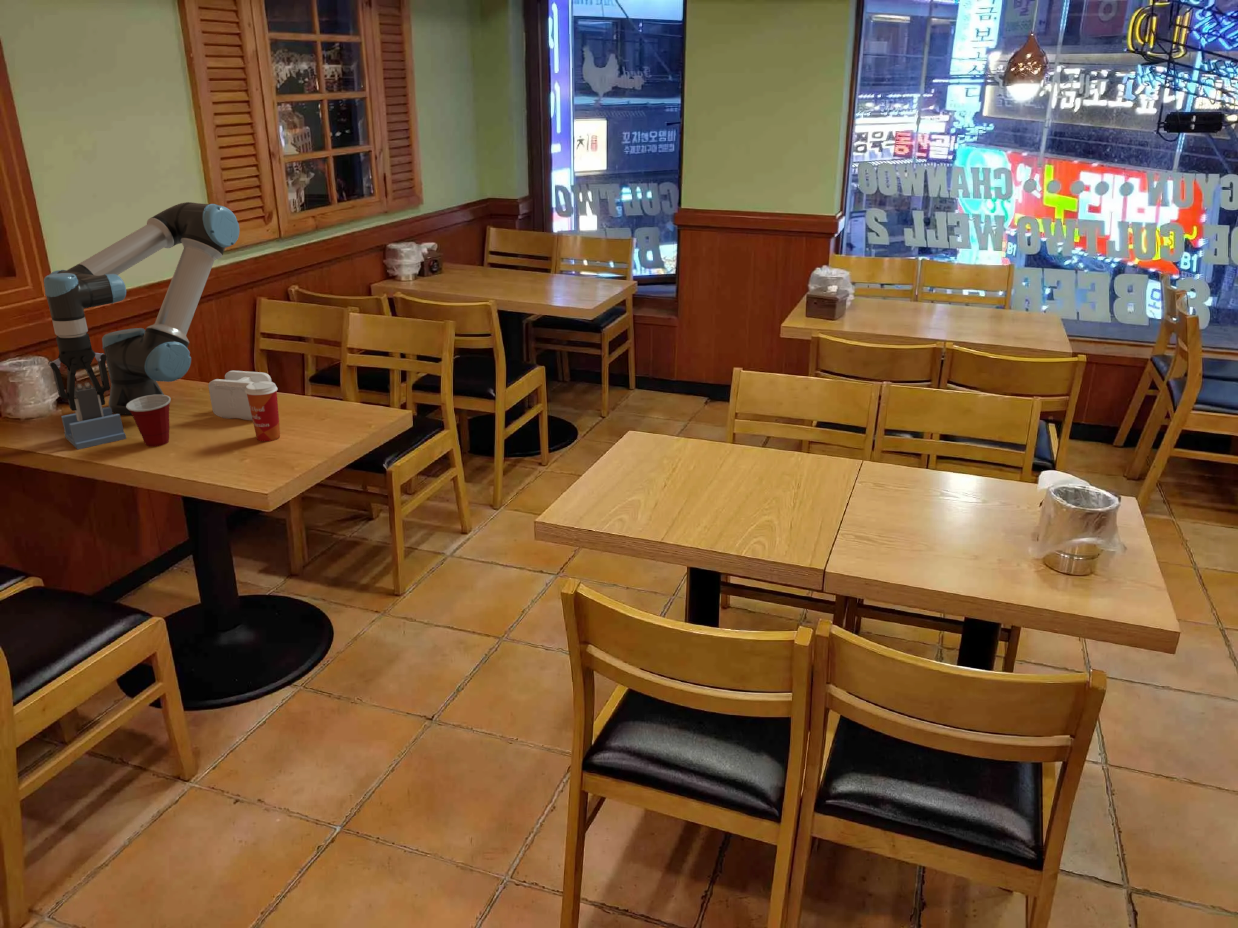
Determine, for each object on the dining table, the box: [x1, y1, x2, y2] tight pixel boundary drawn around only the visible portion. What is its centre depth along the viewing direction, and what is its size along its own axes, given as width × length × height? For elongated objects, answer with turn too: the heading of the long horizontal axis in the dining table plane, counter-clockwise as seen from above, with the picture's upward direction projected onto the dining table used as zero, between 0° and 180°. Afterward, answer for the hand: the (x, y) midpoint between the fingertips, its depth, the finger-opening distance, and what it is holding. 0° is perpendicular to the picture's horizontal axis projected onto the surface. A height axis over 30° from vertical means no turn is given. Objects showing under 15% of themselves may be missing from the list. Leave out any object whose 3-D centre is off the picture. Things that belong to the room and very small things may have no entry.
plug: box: [74, 382, 102, 421], centre depth 246 cm, size 4×4×10 cm
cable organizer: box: [208, 370, 272, 421], centre depth 266 cm, size 15×11×12 cm
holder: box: [61, 405, 127, 450], centre depth 249 cm, size 12×12×6 cm
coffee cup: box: [245, 381, 281, 442], centre depth 248 cm, size 8×8×15 cm
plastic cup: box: [126, 394, 172, 447], centre depth 245 cm, size 11×11×12 cm
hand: (90, 418), depth 248 cm, fingers closed on plug, 4 cm apart
